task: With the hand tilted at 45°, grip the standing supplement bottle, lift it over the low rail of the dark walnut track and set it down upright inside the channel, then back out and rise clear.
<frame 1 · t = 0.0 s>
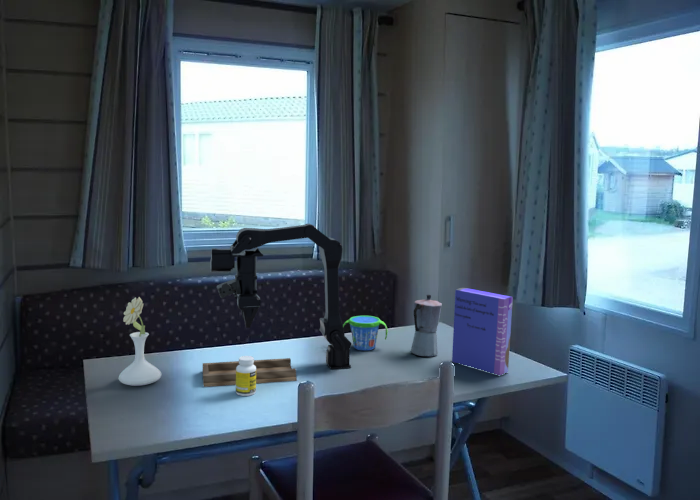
hand: (246, 323, 177), 15 cm above the table, tool pointing down, fingers open, 9 cm apart
walnut track: (248, 375, 176), on the table
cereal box: (479, 368, 188), on the table
supplement bottle: (246, 393, 163), on the table
moka pot: (424, 354, 201), on the table
snack cup: (364, 348, 205), on the table
flower in vase: (140, 383, 168), on the table
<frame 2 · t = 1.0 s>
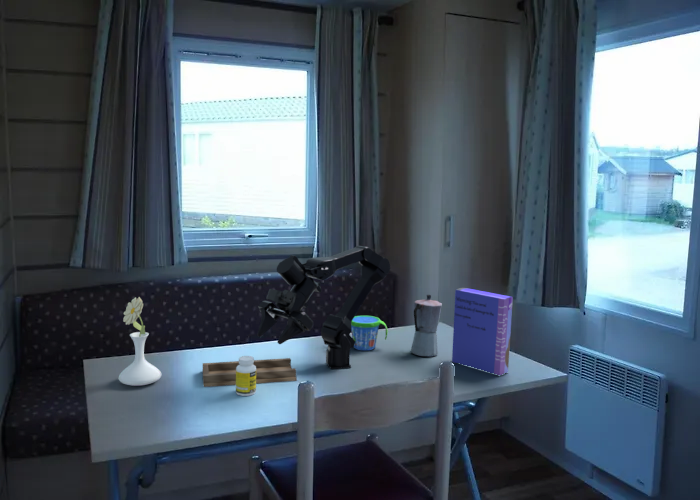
hand: (268, 339, 166), 13 cm above the table, tool tilted 45°, fingers open, 9 cm apart
nothing on the table moved.
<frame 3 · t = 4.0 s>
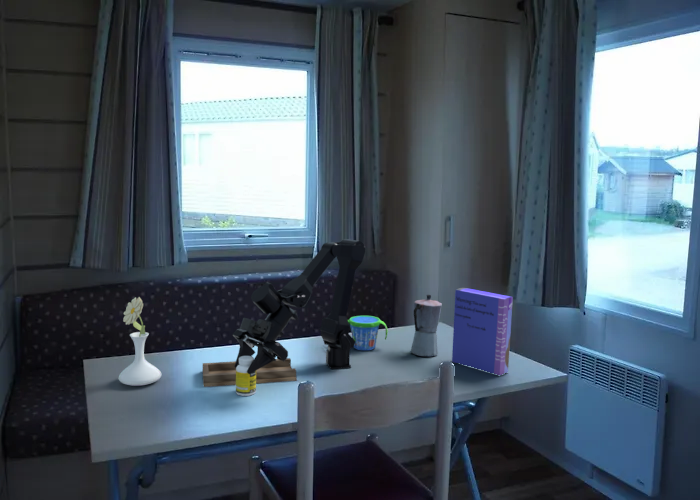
hand: (241, 370, 161), 7 cm above the table, tool tilted 45°, fingers closed on supplement bottle, 5 cm apart
supplement bottle: (246, 393, 163), on the table, touching gripper
everything else where it was.
when the fingers open (8 cm above the table, at t = 8.8 s): supplement bottle stays where it is, resting on walnut track.
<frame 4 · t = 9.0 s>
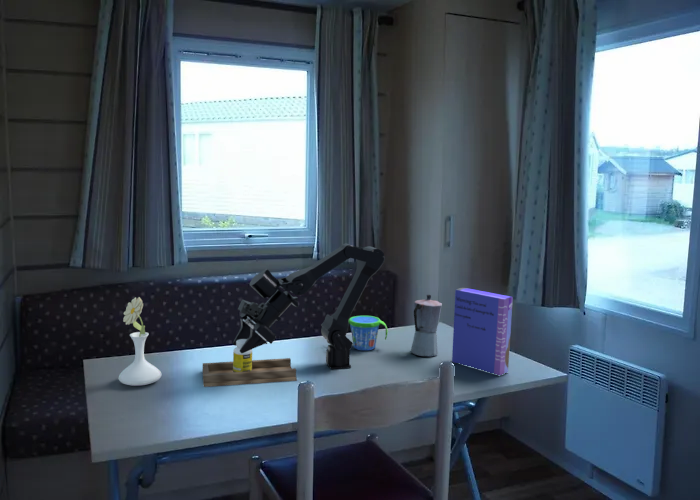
hand: (237, 348, 173), 9 cm above the table, tool tilted 45°, fingers open, 7 cm apart
supplement bottle: (242, 374, 175), point 1 cm above the table, touching walnut track
everything else where it was.
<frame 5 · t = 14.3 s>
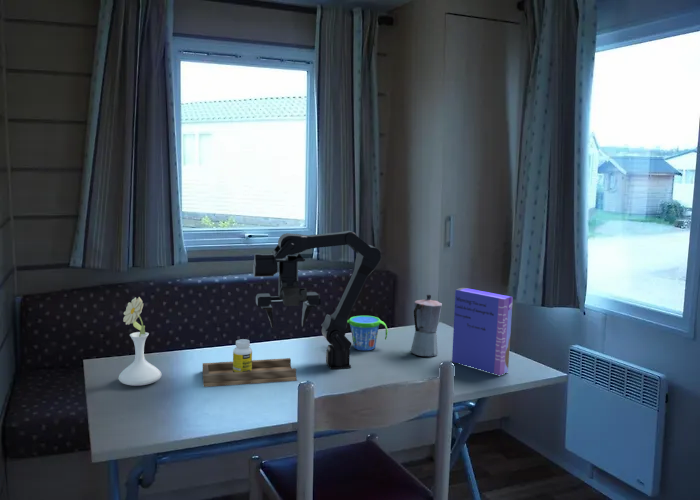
hand: (287, 327, 181), 13 cm above the table, tool pointing down, fingers open, 9 cm apart
nothing on the table moved.
at the end: supplement bottle inside the target area on the walnut track (3.0 cm from its centre), point 0.6 cm above the walnut track's base; supplement bottle tilted 0°; the gripper is holding nothing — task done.
